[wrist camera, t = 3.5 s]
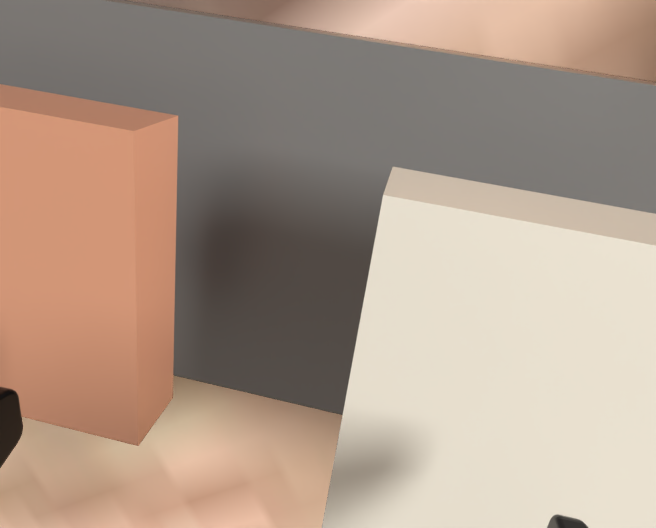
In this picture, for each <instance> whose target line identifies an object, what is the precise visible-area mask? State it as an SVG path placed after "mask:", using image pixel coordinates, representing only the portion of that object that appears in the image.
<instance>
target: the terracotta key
mask: <svg viewBox="0 0 656 528" xmlns="http://www.w3.org/2000/svg"><path fill="white" fill-rule="evenodd" d="M177 157H178V115H172V114H166V113H161V112H155V111H150V110H144V109H138V108H133V107H127V106H121V105H116V104H110V103H104V102H99V101H93V100H87V99H82V98H76V97H70V96H65V95H59V94H54V93H48V92H42V91H37V90H31V89H25V88H20V87H14V86H8V85H3V84H0V386H1V387H5V388H10V389H13V390H15V391H16V392H17V394H18V396H19V402H20V409H21V416H22V417H26V418H30V419H34V420H38V421H41V422H45V423H49V424H53V425H57V426H61V427H65V428H69V429H73V430H77V431H81V432H85V433H89V434H93V435H97V436H101V437H105V438H109V439H113V440H117V441H121V442H125V443H129V444H133V445H137V446H139V444H140V443H141V441H142V440H143V439H144V437H145V436H146V434H147V433H148V432H149V430H150V429H151V427H152V426H153V425H154V423H155V422H156V420H157V419H158V418H159V416H160V415H161V414H162V412H163V411H164V409H165V408H166V407H167V405H168V404H169V402H170V401H171V400H172V398H173V362H174V311H175V260H176V208H177Z"/></svg>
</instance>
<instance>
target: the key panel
mask: <svg viewBox="0 0 656 528" xmlns="http://www.w3.org/2000/svg"><path fill="white" fill-rule="evenodd" d="M0 84H3V85H8V86H14V87H20V88H25V89H31V90H37V91H42V92H48V93H54V94H59V95H65V96H70V97H76V98H82V99H87V100H93V101H99V102H104V103H110V104H116V105H121V106H127V107H133V108H138V109H144V110H150V111H155V112H161V113H166V114H172V115H178V157H177V208H176V260H175V311H174V362H173V375H175V376H179V377H183V378H187V379H192V380H196V381H200V382H204V383H209V384H213V385H217V386H221V387H226V388H230V389H234V390H239V391H243V392H247V393H251V394H256V395H260V396H264V397H268V398H273V399H277V400H281V401H285V402H290V403H294V404H298V405H303V406H307V407H311V408H315V409H320V410H324V411H328V412H332V413H337V414H341V415H343V410H344V405H345V399H346V394H347V388H348V383H349V378H350V372H351V367H352V361H353V356H354V350H355V345H356V340H357V334H358V329H359V323H360V318H361V312H362V307H363V301H364V296H365V291H366V285H367V280H368V274H369V269H370V263H371V258H372V253H373V247H374V242H375V236H376V231H377V225H378V220H379V215H380V209H381V204H382V198H383V194H384V191H385V188H386V185H387V182H388V179H389V176H390V173H391V170H392V167H398V168H404V169H409V170H415V171H421V172H426V173H432V174H437V175H443V176H448V177H454V178H460V179H465V180H471V181H476V182H482V183H487V184H493V185H498V186H504V187H510V188H515V189H521V190H526V191H532V192H537V193H543V194H548V195H554V196H560V197H565V198H571V199H576V200H582V201H587V202H593V203H599V204H604V205H610V206H615V207H621V208H626V209H632V210H637V211H643V212H649V213H654V214H656V82H653V81H646V80H640V79H633V78H627V77H620V76H614V75H607V74H601V73H594V72H587V71H581V70H574V69H568V68H561V67H555V66H548V65H542V64H535V63H529V62H522V61H516V60H509V59H503V58H496V57H490V56H483V55H477V54H470V53H464V52H457V51H451V50H444V49H438V48H431V47H425V46H418V45H412V44H405V43H399V42H392V41H386V40H379V39H373V38H366V37H360V36H353V35H347V34H340V33H334V32H327V31H321V30H314V29H308V28H301V27H295V26H288V25H282V24H275V23H269V22H262V21H256V20H249V19H243V18H236V17H230V16H223V15H217V14H210V13H204V12H197V11H191V10H184V9H178V8H171V7H165V6H158V5H152V4H145V3H138V2H132V1H125V0H0Z"/></svg>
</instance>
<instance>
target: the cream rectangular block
mask: <svg viewBox="0 0 656 528" xmlns="http://www.w3.org/2000/svg"><path fill="white" fill-rule="evenodd" d="M557 514H559V515H563V516H568V517H572V518H576V519H579V520H581V521H583V522H584V523H585V524H586V525H587V526H588V528H656V214H654V213H649V212H643V211H637V210H632V209H626V208H621V207H615V206H610V205H604V204H599V203H593V202H587V201H582V200H576V199H571V198H565V197H560V196H554V195H548V194H543V193H537V192H532V191H526V190H521V189H515V188H510V187H504V186H498V185H493V184H487V183H482V182H476V181H471V180H465V179H460V178H454V177H448V176H443V175H437V174H432V173H426V172H421V171H415V170H409V169H404V168H398V167H392V170H391V173H390V176H389V179H388V182H387V185H386V188H385V191H384V194H383V198H382V204H381V209H380V215H379V220H378V225H377V231H376V236H375V242H374V247H373V253H372V258H371V263H370V269H369V274H368V280H367V285H366V291H365V296H364V301H363V307H362V312H361V318H360V323H359V329H358V334H357V340H356V345H355V350H354V356H353V361H352V367H351V372H350V378H349V383H348V388H347V394H346V399H345V405H344V410H343V416H342V421H341V426H340V432H339V437H338V443H337V448H336V454H335V459H334V464H333V470H332V475H331V481H330V486H329V492H328V497H327V502H326V508H325V513H324V519H323V524H322V528H547V526H548V524H549V521H550V519H551V518H552V516H553V515H557Z"/></svg>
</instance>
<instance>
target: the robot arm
mask: <svg viewBox="0 0 656 528" xmlns="http://www.w3.org/2000/svg"><path fill="white" fill-rule="evenodd" d="M22 430H23V423H22V416H21V409H20V402H19V396H18V394H17V392H16V391H15V390H13V389H10V388H5V387H1V386H0V468H1V466H2V465H3V463H4V462H5V460H6V459H7V458H8V456H9V455H10V453H11V452H12V450H13V449H14V447H15V446H16V444H17V443H18V441H19V439H20V437H21V434H22ZM547 528H588V526H587V525H586V524H585V523H584V522H583V521H581V520H579V519H576V518H572V517H568V516H563V515H559V514H557V515H553V516H552V518H551V519H550V521H549V524H548V526H547Z"/></svg>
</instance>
